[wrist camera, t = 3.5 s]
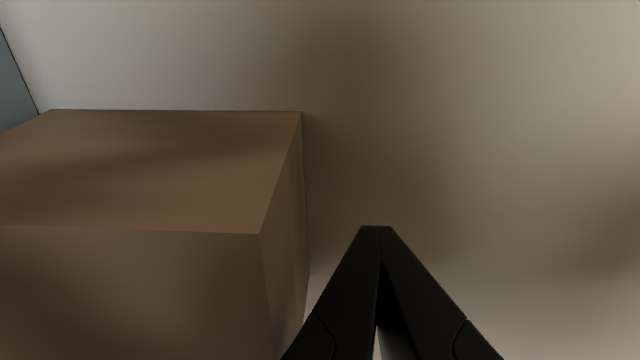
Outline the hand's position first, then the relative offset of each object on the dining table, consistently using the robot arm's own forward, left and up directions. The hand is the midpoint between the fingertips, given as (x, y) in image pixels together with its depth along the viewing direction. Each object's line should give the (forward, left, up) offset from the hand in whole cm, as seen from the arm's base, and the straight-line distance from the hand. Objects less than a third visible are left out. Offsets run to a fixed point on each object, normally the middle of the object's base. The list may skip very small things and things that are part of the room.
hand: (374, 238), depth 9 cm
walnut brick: (+6, 0, -2) cm, 6 cm away
